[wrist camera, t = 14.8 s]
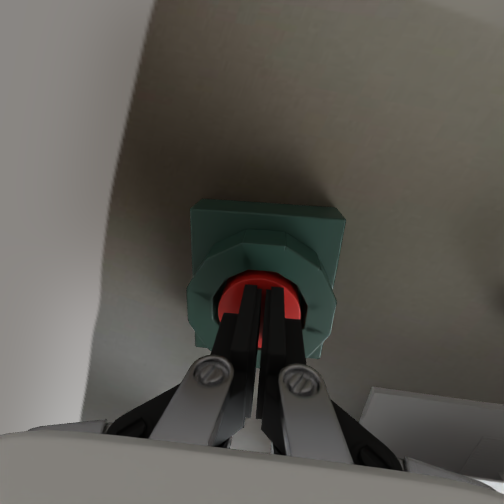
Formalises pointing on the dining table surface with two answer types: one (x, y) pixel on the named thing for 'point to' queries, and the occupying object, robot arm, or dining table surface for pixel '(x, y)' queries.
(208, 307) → the button box
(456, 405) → the flat slab with scratches
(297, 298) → the button
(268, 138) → the dining table surface
